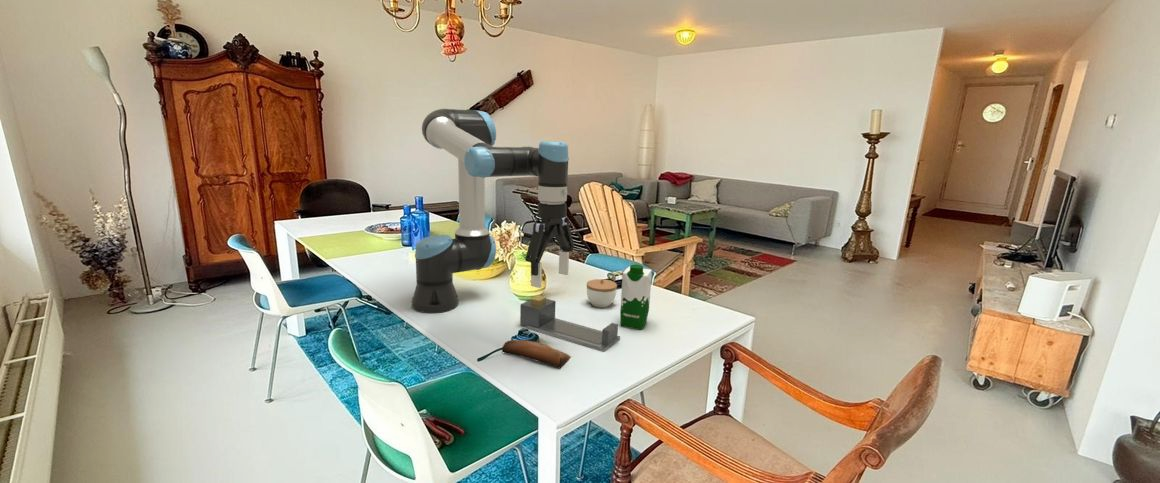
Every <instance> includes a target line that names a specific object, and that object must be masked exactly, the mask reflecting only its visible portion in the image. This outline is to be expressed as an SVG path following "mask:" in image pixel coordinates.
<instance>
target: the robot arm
mask: <svg viewBox="0 0 1160 483" xmlns="http://www.w3.org/2000/svg"><path fill="white" fill-rule="evenodd" d="M421 124H422V125H421V133H422V136H423V138H424V140H425V141H426V142H427V143H428V144H429V145H431V146H432V147H433V148H436V149H439V150H441V149H442V150H445V151H446V152H447V153H449V154H451V155H452V156H454V157H455V158H457V159H458V160H457V161H458V162H457V164H458V165H457V166H458V171H457V172H458V217H459V218H458V220H459V221H458V222H459V224H458V225H459V227H458V228H457V229H456V230H455V231H454V238H452V236H450V235H447V234H435V235H434V234H433V235H430V236H426V237H424V238H423V237H422V238H421V239H420V240H418V241H417V243H416V244H415V254H414V258H415V274H416V275H415V276H416V286H415V289H414V293H413V296H412V298H411V309H413V310H414V311H416V312H420V313H425V314H436V313H439V314H440V313H444V312H449V311H452V310H453V309H455V308H456V307H458V306H459V296H458V294H457V289H456V288H455V284H454V282H453V280H454V279H453V278H454V277H453V274H458V273H464V272H469V271H479V270H482V269H486V268H489V267H490V266H491V265H492V264H493V263H494V261H495V259H496V255H497V245H496V241H495V238H494V237H493V236H492V235H490V231H489V230H488V229H487V228H486V221H485V219H486V217H485V215H486V213H485V212H486V210H485V209H486V206H485V205H486V204H485V203H486V202H485V201H486V200H485V198H486V195H485V194H486V191H485V189H486V187H485V185H486V184H485V182H486V180H485V179H486V178H493V177H494V178H495V177H522V176H525V177H527V176H534V177H538V178H537V179H538V182H537V183H538V184H537V185H538V186H537V200H538V201H539V202H538V203H537V216H538V217H539V218H540V219H541V222H540V223H537V222H536V223H535V222H534V223H533V229H532V234H531V237H530V241H529V244H528V249H527V251H526V254H525V258H524V259H525V261H526V262H529V263H530V287H533V288H538V289H540V288H542V283H543V282H542V281H543V279H542V278H543V277H542V276H543V274H542V272H543V263H542V262H541V259H542V257H543V255H544V253H545V251H546V248H547V246H548V244H549V242H550V241H552V239H553V238H555V240H556V242H557V244H558V246H559V248H560V250H559V252H558V274H559V275H564V276H569V267H570V266H569V265H570V264H569V263H570V252H571V253H572V252H574V247H575V244H574V239H573V236H572V232H571V228H570V217H568V216H567V208H568V207H567V206H568V205H567V203H566V202H567V199H568V179H569V178H568V177H569V176H568V175H569V160H570V159H569V158H570V156H569V146H568V145H569V144H568V143H567V142H565V141H551V140H550V141H549V140H544V141H543V140H542V141H540V142H539V143H538V147H533V146H520V147H519V146H517V147H515V146H510V147H509V146H508V147H507V146H494V145H495V143H496V142H495V141H496V140H497V129H496V125H495V122H494V119H493V117H492V116H491V115H490V114H489V113H488V112H485V111H482V110H476V109H473V110H472V109H455V108H453V109H452V108H440V109H435V110H434V111H431V112H430V113H429V114H428V115H426V116H425V117H424V119H423V121H422V123H421Z"/></svg>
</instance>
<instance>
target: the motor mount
mask: <svg viewBox="0 0 1160 483" xmlns="http://www.w3.org/2000/svg"><path fill="white" fill-rule="evenodd" d="M556 302H557V301H556V300H554V299H549V298H547V296H544V295H543V296H542V295H540V294H538V295H535V296H534V297H532V298H530V299H529V300H527V301H525V302H523V303H520V310H519V312H520V315H519V318H520V323H519V326H520V327H524V328H526V329H527V328H528V329H527V330H530V331H531V330H532V331H535V332H537V333H541V334H545V335H547V336H551V337H553V338H557V339H561V340H564V341H567V342H570V343H574V344H577V345H580V346H583V347H587V348H591V349H593V350H596V351H600V352H607V351H608V349H610V348H611V347H612V346H614V345H615V344H616V343H617V342H619V341H620V340H621V336H620V335H618V334H619V331H618V330H619V324H617V323H614V322H611V323H610V324H608V325H607V326H606V327H604V328H602V330H598V329H596V328H591V327H588V326H584V325H581V324H577V323H574V322H571V321H567V320H563V319H560V318H556Z"/></svg>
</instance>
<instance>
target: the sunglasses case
mask: <svg viewBox="0 0 1160 483" xmlns="http://www.w3.org/2000/svg"><path fill="white" fill-rule="evenodd" d="M501 351H502V353H503V352H504V354H507V355H512V356H517V357H522V358H527V359H529V360H533V361H537V362H540V363H542V364H546V365H550V366H554V367H556V368H559V369H561V368H563V367H564V366H565V365H566V363H568V362H569V361H570V359H571V358H572V356H571V355H570V354H567V353H566V352H564V351H561V350H559V349H555V348H553V347H551V346H549V345H548V344H546V343H545V344H544V343H542V342H537V341H533V340H525V339H524V340H523V339H515V340H514V339H513V340H508V341H506V342H504V344H503V345H502V350H501Z"/></svg>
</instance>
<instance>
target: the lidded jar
mask: <svg viewBox="0 0 1160 483" xmlns="http://www.w3.org/2000/svg"><path fill="white" fill-rule="evenodd" d="M617 289H618V284H617V283H616V282H615V281H613V280H610V279H603V278H599V279H598V278H597V279H592V280H588V281H587V282H586V295H587V296H586V297H587V299H588V301H589V302H590V303H591V305H592V307H596V308H602V309H604V308H608V307H609V306H610V305H611V304H612V303H613V302H614V300H615V299H616V295H617Z"/></svg>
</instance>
